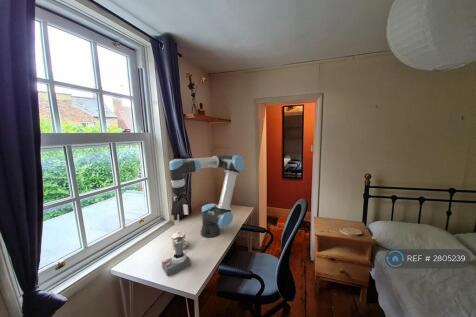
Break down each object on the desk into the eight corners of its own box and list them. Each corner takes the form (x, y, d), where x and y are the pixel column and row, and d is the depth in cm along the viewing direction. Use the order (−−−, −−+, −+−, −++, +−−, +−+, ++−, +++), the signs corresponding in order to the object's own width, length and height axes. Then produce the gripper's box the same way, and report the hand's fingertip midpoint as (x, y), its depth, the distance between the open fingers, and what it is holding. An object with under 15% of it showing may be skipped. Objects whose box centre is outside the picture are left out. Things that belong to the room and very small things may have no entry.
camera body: (184, 257, 125) (183, 248, 124) (190, 264, 118) (189, 255, 117) (162, 267, 116) (161, 258, 115) (167, 276, 109) (166, 265, 108)
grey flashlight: (177, 256, 120) (176, 236, 118) (185, 256, 120) (183, 236, 118) (174, 261, 115) (172, 240, 114) (182, 261, 115) (180, 240, 113)
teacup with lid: (169, 249, 134) (168, 233, 133) (178, 242, 142) (177, 227, 141) (183, 253, 130) (182, 236, 128) (191, 245, 138) (190, 230, 136)
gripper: (181, 180, 127) (184, 210, 131) (161, 193, 103) (166, 229, 106) (191, 179, 126) (194, 210, 130) (175, 192, 102) (179, 230, 105)
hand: (182, 219), depth 118 cm, fingers open, 13 cm apart
